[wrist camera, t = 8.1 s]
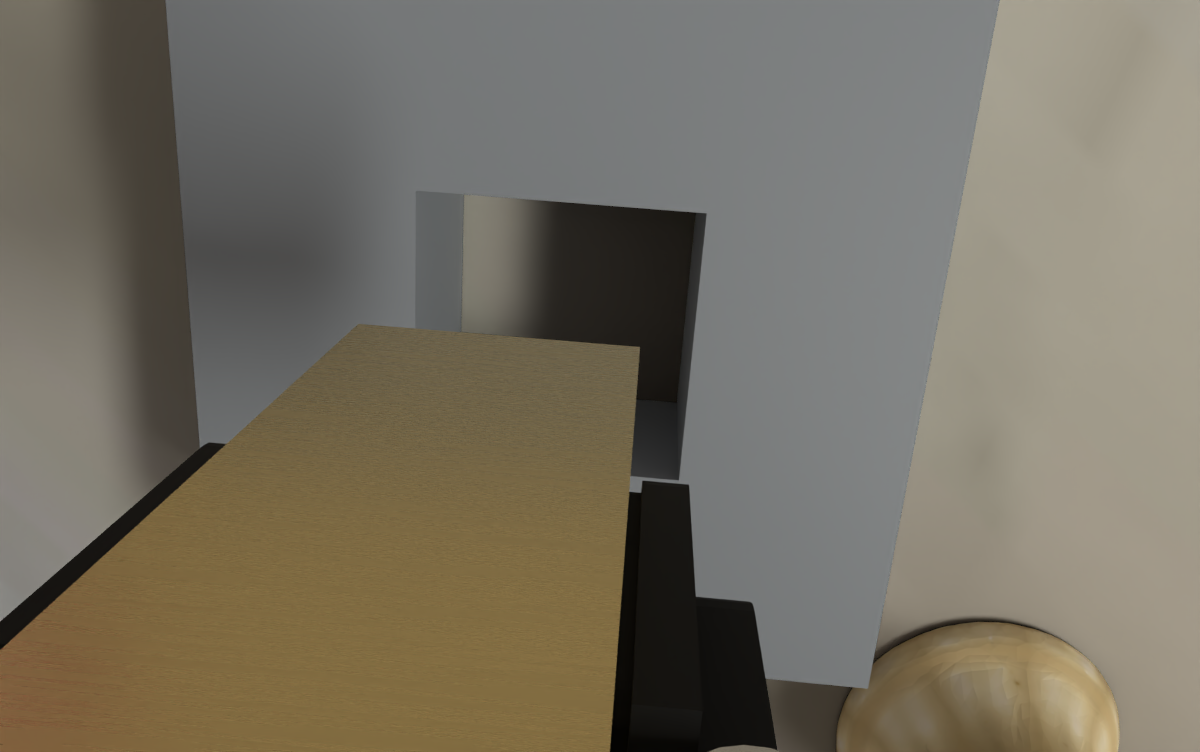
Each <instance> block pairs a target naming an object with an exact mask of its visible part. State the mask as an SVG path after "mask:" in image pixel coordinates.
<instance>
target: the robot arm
mask: <svg viewBox="0 0 1200 752" xmlns="http://www.w3.org/2000/svg"><path fill="white" fill-rule="evenodd" d="M225 445H226V444H222V443H211V442H209V443H207V444H205V445H203V446H202V447H201V448H200V449H199V450H197V451H196V452H195V453H194V454H193V455H192V456H191V457H189V458H188V459H187V460H186V461H185V462H184V463H183V464H181V465H180V466H179V467H178V468H177V469H176V470H174V471H173V472H172V473H171V474H170V475H169V476H168V477H166V478H165V479H164V480H163V481H162V482H161V483H159V484H158V485H157V486H156V487H155V488H154V489H153V490H151V491H150V492H149V493H148V494H147V495H146V496H144V497H143V498H142V499H141V500H140V501H139V502H138V503H136V504H135V505H134V506H133V507H132V508H131V509H130V510H128V511H127V512H126V513H125V514H124V515H123V516H121V517H120V518H119V519H118V520H117V521H116V522H115V523H113V524H112V525H111V526H110V527H109V528H108V529H106V530H105V531H104V532H103V533H102V534H101V535H100V536H98V537H97V538H96V539H95V540H94V541H93V542H92V543H90V544H89V545H88V546H87V547H86V548H85V549H83V550H82V551H81V552H80V553H79V554H78V555H77V556H75V557H74V558H73V559H72V560H71V561H70V562H69V563H67V564H66V565H65V566H64V567H63V568H62V569H60V570H59V571H58V572H57V573H56V574H55V575H54V576H52V577H51V578H50V579H49V580H48V581H47V582H45V583H44V584H43V585H42V586H41V587H40V588H39V589H37V590H36V591H35V592H34V593H33V594H32V595H30V596H29V597H28V598H27V599H26V600H25V601H24V602H22V603H21V604H20V605H19V606H18V607H17V608H16V609H14V610H13V611H12V612H11V613H10V614H9V615H7V616H6V617H5V618H4V619H3V620H2V621H1V622H0V650H1V649H2V648H3V647H4V646H5V645H6V644H7V643H9V642H10V641H11V640H12V639H13V638H14V637H15V636H16V635H17V634H18V633H20V632H21V631H22V630H23V629H24V628H25V627H26V626H27V625H28V624H29V623H31V622H32V621H33V620H34V619H35V618H36V617H37V616H38V615H39V614H40V613H41V612H43V611H44V610H45V609H46V608H47V607H48V606H49V605H50V604H51V603H52V602H54V601H55V600H56V599H57V598H58V597H59V596H60V595H61V594H62V593H63V592H65V591H66V590H67V589H68V588H69V587H70V586H71V585H72V584H73V583H74V582H76V581H77V580H78V579H79V578H80V577H81V576H82V575H83V574H84V573H85V572H86V571H88V570H89V569H90V568H91V567H92V566H93V565H94V564H95V563H96V562H97V561H99V560H100V559H101V558H102V557H103V556H104V555H105V554H106V553H107V552H108V551H110V550H111V549H112V548H113V547H114V546H115V545H116V544H117V543H118V542H119V541H121V540H122V539H123V538H124V537H125V536H126V535H127V534H128V533H129V532H130V531H131V530H133V529H134V528H135V527H136V526H137V525H138V524H139V523H140V522H141V521H142V520H144V519H145V518H146V517H147V516H148V515H149V514H150V513H151V512H152V511H153V510H155V509H156V508H157V507H158V506H159V505H160V504H161V503H162V502H163V501H164V500H166V499H167V498H168V497H169V496H170V495H171V494H172V493H173V492H174V491H175V490H176V489H178V488H179V487H180V486H181V485H182V484H183V483H184V482H185V481H186V480H187V479H189V478H190V477H191V476H192V475H193V474H194V473H195V472H196V471H197V470H198V469H200V468H201V467H202V466H203V465H204V464H205V463H206V462H207V461H208V460H209V459H211V458H212V457H213V456H214V455H215V454H216V453H217V452H218V451H219V450H220V449H221V448H223V447H224V446H225ZM610 752H781V751H778V750H777V746H776V740H775V734H774V727H773V721H772V715H771V709H770V703H769V697H768V690H767V684H766V678H765V672H764V666H763V660H762V653H761V647H760V641H759V635H758V629H757V623H756V616H755V611H754V607H753V603H751V602H748V601H738V600H727V599H716V598H705V597H696V591H695V574H694V557H693V541H692V524H691V507H690V490H689V485H688V484H677V483H665V482H654V481H642V488H641V493H638V492H629V502H628V515H627V529H626V542H625V556H624V569H623V582H622V596H621V609H620V623H619V636H618V649H617V663H616V676H615V690H614V703H613V717H612V730H611V743H610Z"/></svg>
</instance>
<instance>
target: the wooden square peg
mask: <svg viewBox="0 0 1200 752" xmlns="http://www.w3.org/2000/svg"><path fill="white" fill-rule="evenodd" d="M639 354H640V347H633V346H621V345H609V344H597V343H585V342H572V341H560V340H548V339H536V338H524V337H512V336H500V335H488V334H475V333H463V332H451V331H439V330H427V329H415V328H403V327H391V326H378V325H366V324H358V325H357V326H355V327H354V328H353V329H352V330H351V331H350V332H349V333H348V334H347V335H346V336H344V337H343V338H342V339H341V340H340V341H339V342H338V343H337V344H336V345H335V346H333V347H332V348H331V349H330V350H329V351H328V352H327V353H326V354H325V355H324V356H322V357H321V358H320V359H319V360H318V361H317V362H316V363H315V364H314V365H313V366H312V367H310V368H309V369H308V370H307V371H306V372H305V373H304V374H303V375H302V376H301V377H299V378H298V379H297V380H296V381H295V382H294V383H293V384H292V385H291V386H290V387H288V388H287V389H286V390H285V391H284V392H283V393H282V394H281V395H280V396H279V397H277V398H276V399H275V400H274V401H273V402H272V403H271V404H270V405H269V406H268V407H266V408H265V409H264V410H263V411H262V412H261V413H260V414H259V415H258V416H257V417H256V418H254V419H253V420H252V421H251V422H250V423H249V424H248V425H247V426H246V427H245V428H243V429H242V430H241V431H240V432H239V433H238V434H237V435H236V436H235V437H234V438H232V439H231V440H230V441H229V442H228V443H227V444H226V445H225V446H224V447H223V448H221V449H220V450H219V451H218V452H217V453H216V454H215V455H214V456H213V457H212V458H211V459H209V460H208V461H207V462H206V463H205V464H204V465H203V466H202V467H201V468H200V469H198V470H197V471H196V472H195V473H194V474H193V475H192V476H191V477H190V478H189V479H187V480H186V481H185V482H184V483H183V484H182V485H181V486H180V487H179V488H178V489H176V490H175V491H174V492H173V493H172V494H171V495H170V496H169V497H168V498H167V499H166V500H164V501H163V502H162V503H161V504H160V505H159V506H158V507H157V508H156V509H155V510H153V511H152V512H151V513H150V514H149V515H148V516H147V517H146V518H145V519H144V520H142V521H141V522H140V523H139V524H138V525H137V526H136V527H135V528H134V529H133V530H131V531H130V532H129V533H128V534H127V535H126V536H125V537H124V538H123V539H122V540H121V541H119V542H118V543H117V544H116V545H115V546H114V547H113V548H112V549H111V550H110V551H108V552H107V553H106V554H105V555H104V556H103V557H102V558H101V559H100V560H99V561H97V562H96V563H95V564H94V565H93V566H92V567H91V568H90V569H89V570H88V571H86V572H85V573H84V574H83V575H82V576H81V577H80V578H79V579H78V580H77V581H76V582H74V583H73V584H72V585H71V586H70V587H69V588H68V589H67V590H66V591H65V592H63V593H62V594H61V595H60V596H59V597H58V598H57V599H56V600H55V601H54V602H52V603H51V604H50V605H49V606H48V607H47V608H46V609H45V610H44V611H43V612H41V613H40V614H39V615H38V616H37V617H36V618H35V619H34V620H33V621H32V622H31V623H29V624H28V625H27V626H26V627H25V628H24V629H23V630H22V631H21V632H20V633H18V634H17V635H16V636H15V637H14V638H13V639H12V640H11V641H10V642H9V643H7V644H6V645H5V646H4V647H3V648H2V649H1V650H0V752H610V743H611V730H612V717H613V703H614V690H615V676H616V663H617V649H618V636H619V623H620V609H621V596H622V582H623V569H624V556H625V542H626V529H627V515H628V502H629V488H630V475H631V462H632V448H633V435H634V421H635V408H636V394H637V381H638V368H639Z"/></svg>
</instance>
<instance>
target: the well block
mask: <svg viewBox="0 0 1200 752" xmlns="http://www.w3.org/2000/svg"><path fill="white" fill-rule="evenodd" d="M165 1H166V14H167V27H168V40H169V53H170V66H171V79H172V92H173V105H174V118H175V131H176V144H177V157H178V170H179V183H180V196H181V209H182V222H183V235H184V248H185V261H186V274H187V287H188V300H189V313H190V326H191V339H192V352H193V365H194V378H195V391H196V404H197V417H198V430H199V443H200V448H201V447H202V446H203V445H205V444H207V443H209V442H211V443H222V444H227V443H228V442H229V441H230V440H231V439H232V438H234V437H235V436H236V435H237V434H238V433H239V432H240V431H241V430H242V429H243V428H245V427H246V426H247V425H248V424H249V423H250V422H251V421H252V420H253V419H254V418H256V417H257V416H258V415H259V414H260V413H261V412H262V411H263V410H264V409H265V408H266V407H268V406H269V405H270V404H271V403H272V402H273V401H274V400H275V399H276V398H277V397H279V396H280V395H281V394H282V393H283V392H284V391H285V390H286V389H287V388H288V387H290V386H291V385H292V384H293V383H294V382H295V381H296V380H297V379H298V378H299V377H301V376H302V375H303V374H304V373H305V372H306V371H307V370H308V369H309V368H310V367H312V366H313V365H314V364H315V363H316V362H317V361H318V360H319V359H320V358H321V357H322V356H324V355H325V354H326V353H327V352H328V351H329V350H330V349H331V348H332V347H333V346H335V345H336V344H337V343H338V342H339V341H340V340H341V339H342V338H343V337H344V336H346V335H347V334H348V333H349V332H350V331H351V330H352V329H353V328H354V327H355V326H357V325H358V324H366V325H378V326H391V327H403V328H415V329H427V330H439V331H451V332H461V312H462V263H463V214H464V194H466V195H478V196H491V197H504V198H517V199H530V200H542V201H555V202H568V203H581V204H593V205H606V206H619V207H632V208H644V209H657V210H670V211H683V212H696V216H695V226H694V236H693V246H692V256H691V266H690V275H689V285H688V295H687V305H686V315H685V325H684V335H683V345H682V355H681V365H680V375H679V385H678V395H677V403H675V402H663V401H652V400H640V399H636V408H635V421H634V435H633V448H632V462H631V475H630V488H629V492H638V493H641V488H642V481H654V482H665V483H677V484H688V485H689V490H690V507H691V524H692V541H693V557H694V574H695V591H696V597H705V598H716V599H727V600H738V601H748V602H751V603H753V607H754V611H755V616H756V623H757V629H758V635H759V641H760V647H761V653H762V660H763V666H764V672H765V678H766V679H774V680H784V681H794V682H804V683H815V684H825V685H835V686H845V687H855V688H866V689H868V685H869V680H870V675H871V670H872V664H873V659H874V654H875V649H876V644H877V638H878V633H879V628H880V623H881V617H882V612H883V607H884V602H885V597H886V591H887V586H888V581H889V576H890V570H891V565H892V560H893V555H894V550H895V544H896V539H897V534H898V529H899V523H900V518H901V513H902V508H903V503H904V497H905V492H906V487H907V482H908V476H909V471H910V466H911V461H912V455H913V450H914V445H915V440H916V435H917V429H918V424H919V419H920V414H921V408H922V403H923V398H924V393H925V388H926V382H927V377H928V372H929V367H930V361H931V356H932V351H933V346H934V341H935V335H936V330H937V325H938V320H939V314H940V309H941V304H942V299H943V294H944V288H945V283H946V278H947V273H948V267H949V262H950V257H951V252H952V246H953V241H954V236H955V231H956V226H957V220H958V215H959V210H960V205H961V199H962V194H963V189H964V184H965V179H966V173H967V168H968V163H969V158H970V152H971V147H972V142H973V137H974V132H975V126H976V121H977V116H978V111H979V105H980V100H981V95H982V90H983V85H984V79H985V74H986V69H987V64H988V58H989V53H990V48H991V43H992V38H993V32H994V27H995V22H996V17H997V11H998V6H999V1H1000V0H165Z"/></svg>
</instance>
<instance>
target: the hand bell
mask: <svg viewBox="0 0 1200 752" xmlns="http://www.w3.org/2000/svg"><path fill="white" fill-rule="evenodd" d="M1118 746H1119V716H1118V710H1117V705H1116V703H1115V700H1114V697H1113V694H1112V692H1111V690H1110V688H1109V686H1108V684H1107V683H1106V681H1105V679H1104V678H1103V676H1102V675H1101V673H1100V672H1099V670H1098V669H1097V668H1096V667H1095V665H1094V664H1093V663H1092V662H1091V661H1090V660H1089V659H1087V658H1086V657H1085V656H1084V655H1083V654H1081V653H1080V652H1079V651H1077V650H1076V649H1074V648H1073V647H1072V646H1070V645H1069V644H1067V643H1065V642H1064V641H1062V640H1060V639H1058V638H1056V637H1054V636H1052V635H1050V634H1047V633H1044V632H1041V631H1039V630H1036V629H1032V628H1027V627H1023V626H1019V625H1015V624H1010V623H999V622H972V623H962V624H957V625H951V626H945V627H942V628H937V629H935V630H932V631H929V632H926V633H923V634H921V635H918V636H916V637H914V638H912V639H910V640H907V641H906V642H904V643H902V644H900V645H898V646H896V647H894V648H893V649H891V650H890V651H889V652H887V653H886V654H884V655H883V656H882V657H881V658H879V659H878V660H877V661H876V662H875V663H873V664H872V670H871V675H870V680H869V685H868V689H866V688H855V687H853V688H852V690H851V691H850V693H849V695H848V697H847V699H846V701H845V703H844V706H843V708H842V711H841V714H840V718H839V721H838V726H837V733H836V752H1118Z"/></svg>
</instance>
